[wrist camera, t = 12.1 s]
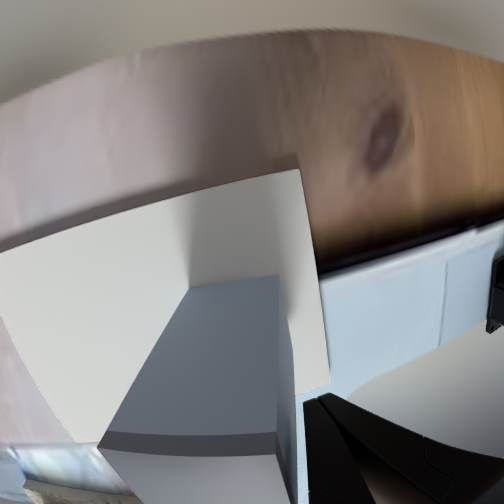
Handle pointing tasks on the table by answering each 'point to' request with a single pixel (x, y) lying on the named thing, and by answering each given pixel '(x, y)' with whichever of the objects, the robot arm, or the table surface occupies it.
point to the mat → (154, 289)
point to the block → (213, 403)
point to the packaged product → (72, 495)
